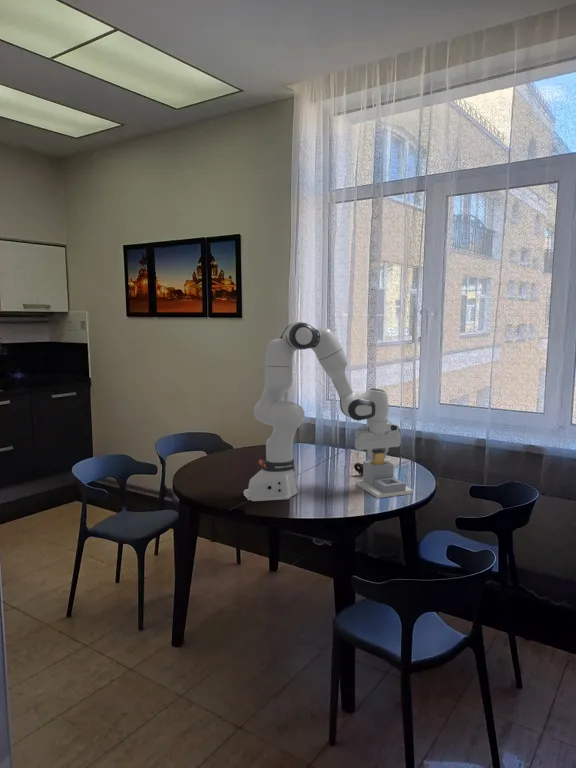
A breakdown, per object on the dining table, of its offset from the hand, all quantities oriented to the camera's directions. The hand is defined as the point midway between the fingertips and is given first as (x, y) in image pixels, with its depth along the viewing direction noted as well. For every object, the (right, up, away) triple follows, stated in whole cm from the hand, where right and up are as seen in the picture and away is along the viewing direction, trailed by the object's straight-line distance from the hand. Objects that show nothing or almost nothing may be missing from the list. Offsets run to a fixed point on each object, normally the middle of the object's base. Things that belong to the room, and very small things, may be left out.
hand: (377, 458), depth 225 cm
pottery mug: (-2, -11, +16) cm, 19 cm away
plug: (0, -5, +1) cm, 5 cm away
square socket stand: (+2, -12, -3) cm, 13 cm away
